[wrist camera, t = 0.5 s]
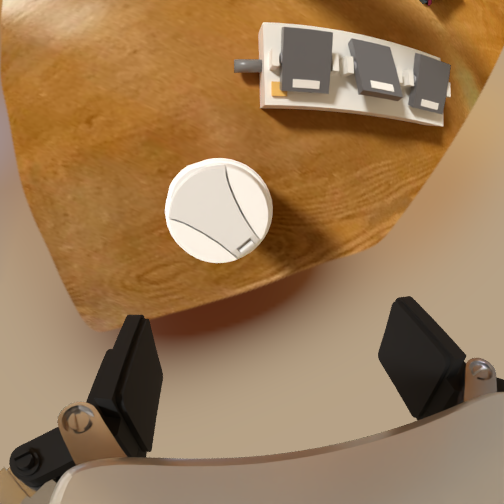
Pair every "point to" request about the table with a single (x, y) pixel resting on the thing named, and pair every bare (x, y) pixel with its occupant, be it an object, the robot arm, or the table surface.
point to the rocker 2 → (429, 84)
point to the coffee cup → (218, 210)
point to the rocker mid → (375, 70)
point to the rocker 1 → (305, 60)
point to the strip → (336, 79)
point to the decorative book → (424, 0)
